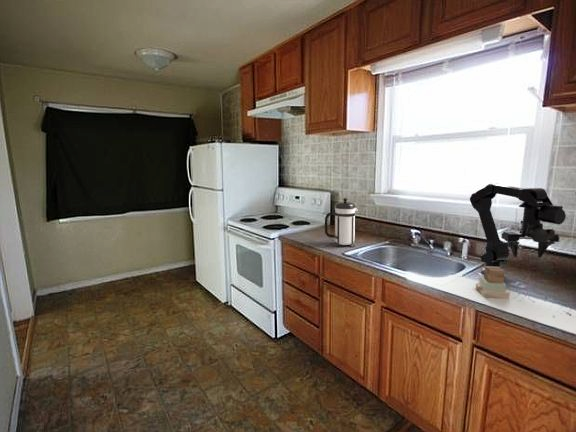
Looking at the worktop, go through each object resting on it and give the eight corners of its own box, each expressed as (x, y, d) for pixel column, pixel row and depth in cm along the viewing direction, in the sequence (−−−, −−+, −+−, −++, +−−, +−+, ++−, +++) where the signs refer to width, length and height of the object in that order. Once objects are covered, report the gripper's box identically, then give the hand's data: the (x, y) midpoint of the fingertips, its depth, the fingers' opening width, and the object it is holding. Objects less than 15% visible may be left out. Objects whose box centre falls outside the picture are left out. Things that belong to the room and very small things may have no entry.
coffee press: (343, 240, 212) (344, 195, 207) (361, 245, 199) (362, 198, 194) (323, 244, 203) (323, 198, 197) (341, 250, 190) (342, 200, 184)
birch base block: (475, 290, 132) (475, 283, 131) (497, 290, 130) (498, 283, 130) (484, 299, 123) (485, 291, 123) (508, 299, 122) (509, 292, 121)
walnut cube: (483, 277, 129) (485, 266, 128) (497, 278, 128) (498, 266, 127) (489, 282, 124) (490, 270, 123) (503, 283, 123) (504, 271, 122)
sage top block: (479, 283, 131) (479, 276, 130) (498, 284, 129) (499, 277, 128) (484, 290, 124) (485, 282, 124) (505, 291, 122) (505, 284, 122)
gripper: (518, 223, 120) (513, 263, 123) (572, 223, 118) (566, 264, 121) (502, 218, 131) (498, 254, 134) (552, 218, 129) (547, 255, 132)
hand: (527, 257), depth 130 cm, fingers open, 9 cm apart
